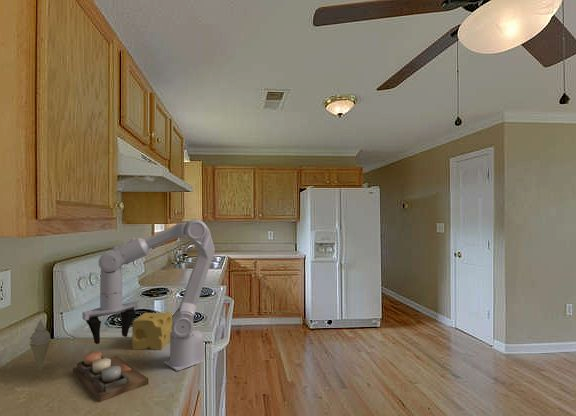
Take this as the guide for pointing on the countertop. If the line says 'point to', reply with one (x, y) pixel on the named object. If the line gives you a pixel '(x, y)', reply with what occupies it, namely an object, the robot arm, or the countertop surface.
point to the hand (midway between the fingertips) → (111, 339)
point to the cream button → (101, 365)
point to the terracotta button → (92, 357)
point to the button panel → (110, 388)
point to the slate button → (111, 373)
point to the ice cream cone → (40, 344)
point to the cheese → (152, 330)
